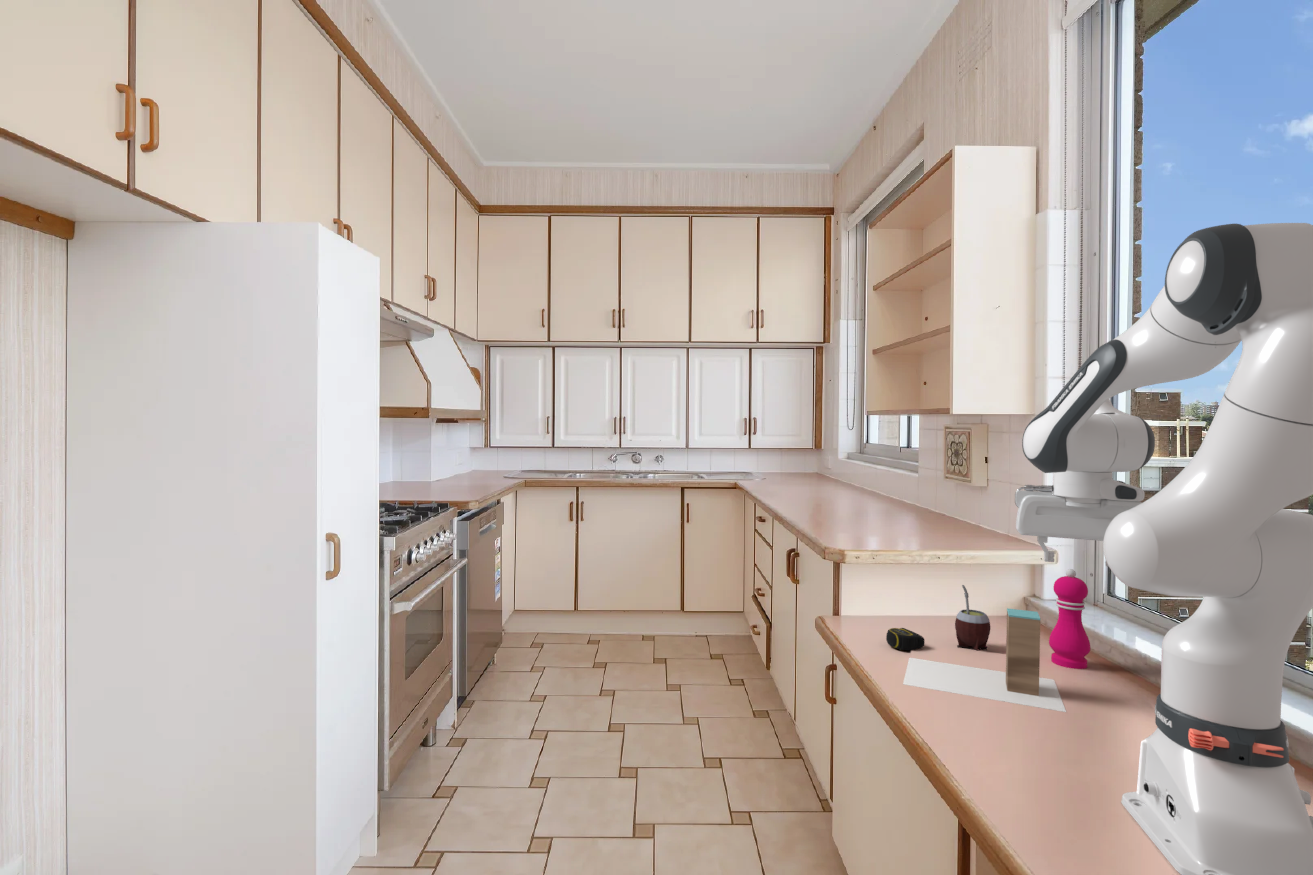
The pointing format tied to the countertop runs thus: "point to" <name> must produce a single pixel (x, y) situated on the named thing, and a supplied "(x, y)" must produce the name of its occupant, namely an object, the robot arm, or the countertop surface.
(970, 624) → the mate gourd
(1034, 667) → the walnut block
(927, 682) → the white flat rectangular panel
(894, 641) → the tape measure
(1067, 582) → the pepper mill
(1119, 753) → the countertop surface
